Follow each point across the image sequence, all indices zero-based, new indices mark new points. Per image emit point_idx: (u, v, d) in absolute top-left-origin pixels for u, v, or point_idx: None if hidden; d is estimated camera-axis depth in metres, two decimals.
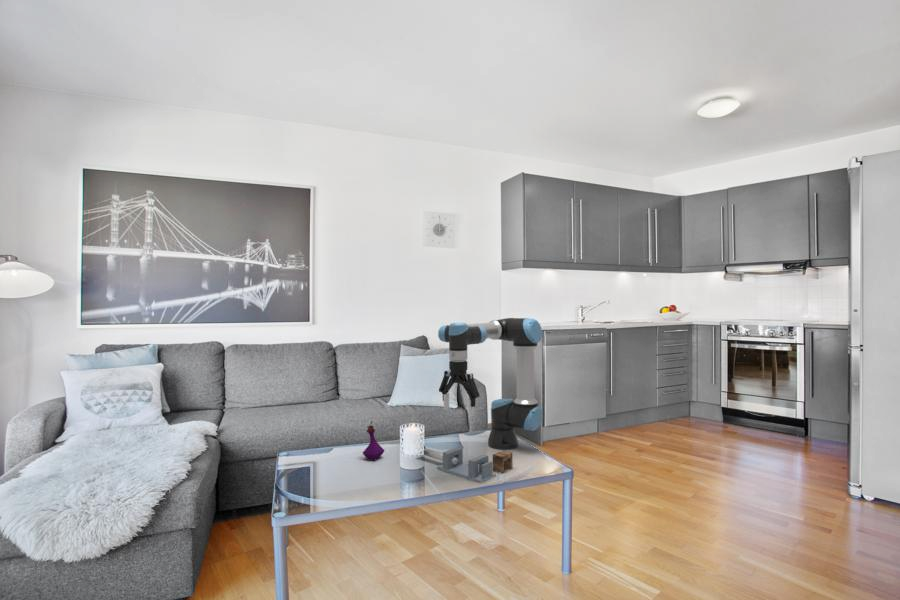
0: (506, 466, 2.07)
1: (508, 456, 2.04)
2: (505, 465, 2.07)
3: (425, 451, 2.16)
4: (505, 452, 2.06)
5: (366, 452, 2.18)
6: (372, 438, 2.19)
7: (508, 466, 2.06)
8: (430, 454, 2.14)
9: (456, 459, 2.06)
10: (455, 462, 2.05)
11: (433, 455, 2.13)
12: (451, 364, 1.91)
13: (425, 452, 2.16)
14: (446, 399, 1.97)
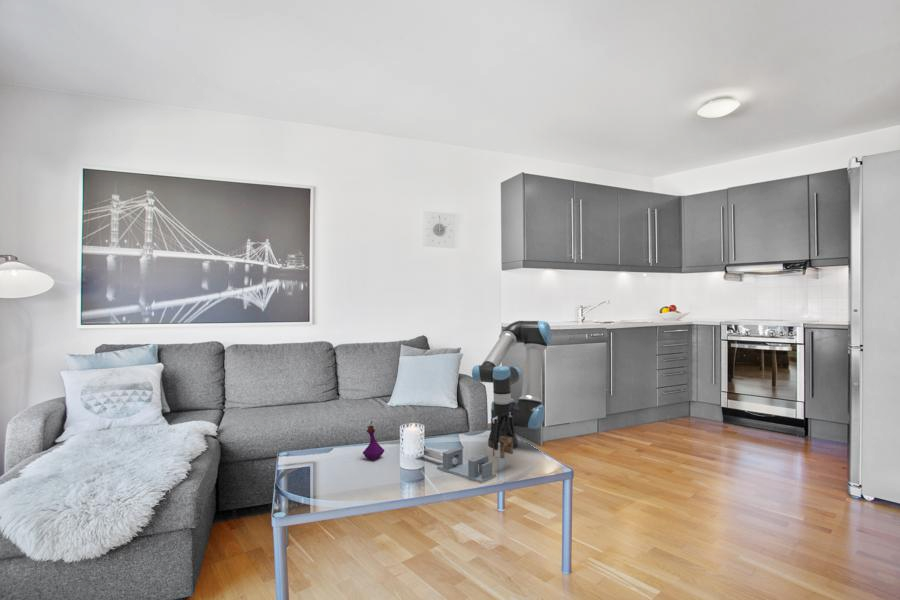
0: (507, 451, 2.07)
1: (508, 441, 2.04)
2: (506, 450, 2.08)
3: (425, 451, 2.16)
4: (505, 437, 2.06)
5: (366, 452, 2.18)
6: (372, 438, 2.19)
7: (509, 451, 2.06)
8: (430, 454, 2.14)
9: (456, 459, 2.06)
10: (455, 462, 2.05)
11: (433, 455, 2.13)
12: None
13: (425, 452, 2.16)
14: None
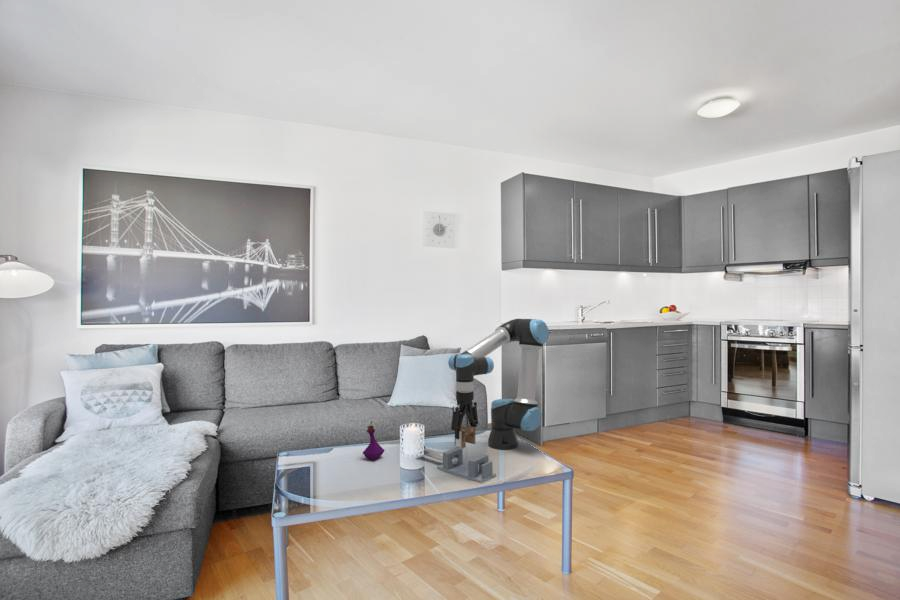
0: (469, 441, 2.04)
1: (470, 431, 2.01)
2: (468, 440, 2.04)
3: (425, 451, 2.16)
4: (468, 427, 2.03)
5: (366, 452, 2.18)
6: (372, 438, 2.19)
7: (471, 441, 2.03)
8: (430, 454, 2.14)
9: (456, 459, 2.06)
10: (455, 462, 2.05)
11: (433, 455, 2.13)
12: None
13: (425, 452, 2.16)
14: None
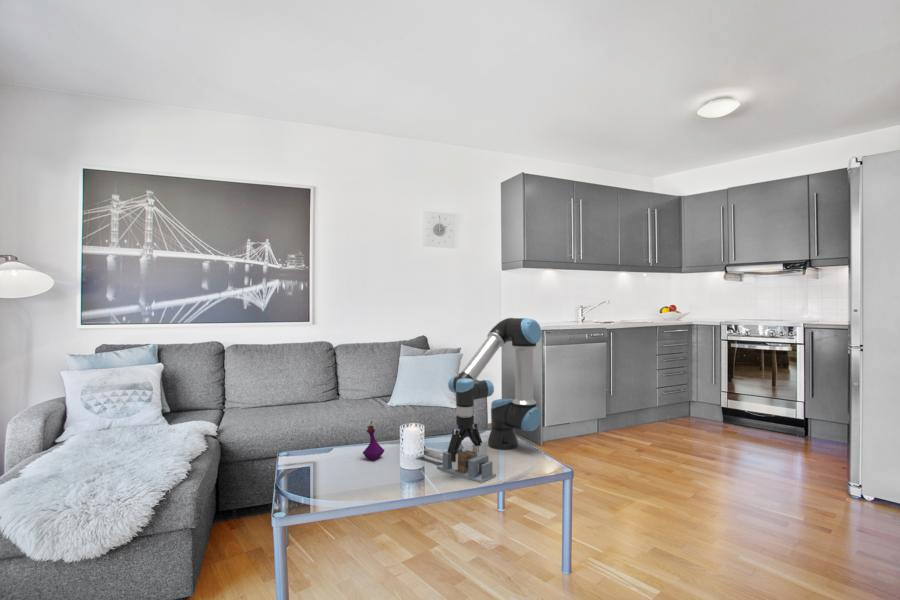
0: None
1: (471, 456, 2.01)
2: None
3: (425, 451, 2.16)
4: (468, 452, 2.03)
5: (366, 452, 2.18)
6: (372, 438, 2.19)
7: None
8: (430, 454, 2.14)
9: None
10: None
11: (433, 455, 2.13)
12: None
13: (425, 452, 2.16)
14: (474, 450, 2.07)
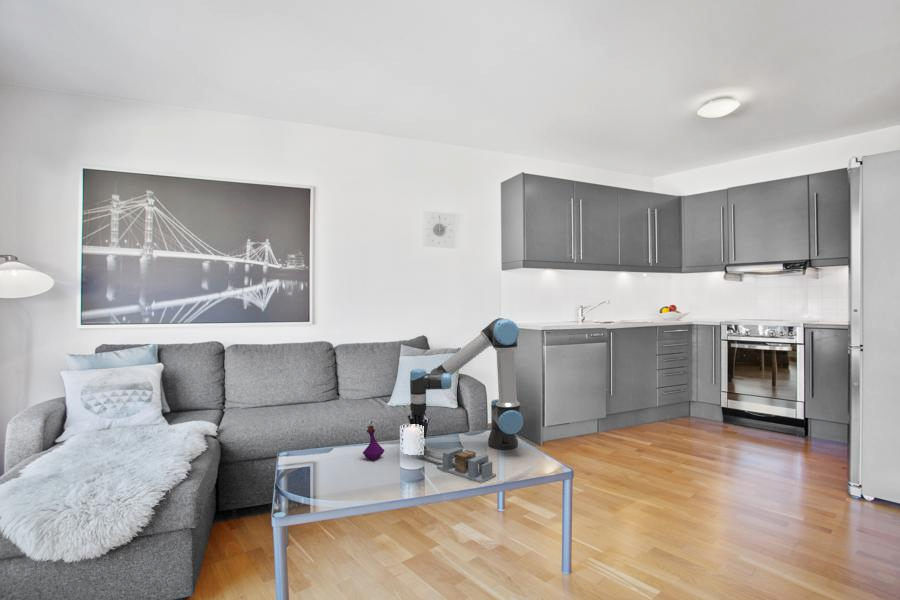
0: None
1: (471, 456, 2.01)
2: None
3: (426, 451, 2.16)
4: (468, 452, 2.03)
5: (366, 452, 2.18)
6: (372, 438, 2.19)
7: None
8: (431, 454, 2.13)
9: None
10: None
11: (434, 455, 2.12)
12: (411, 406, 2.19)
13: (426, 452, 2.16)
14: None
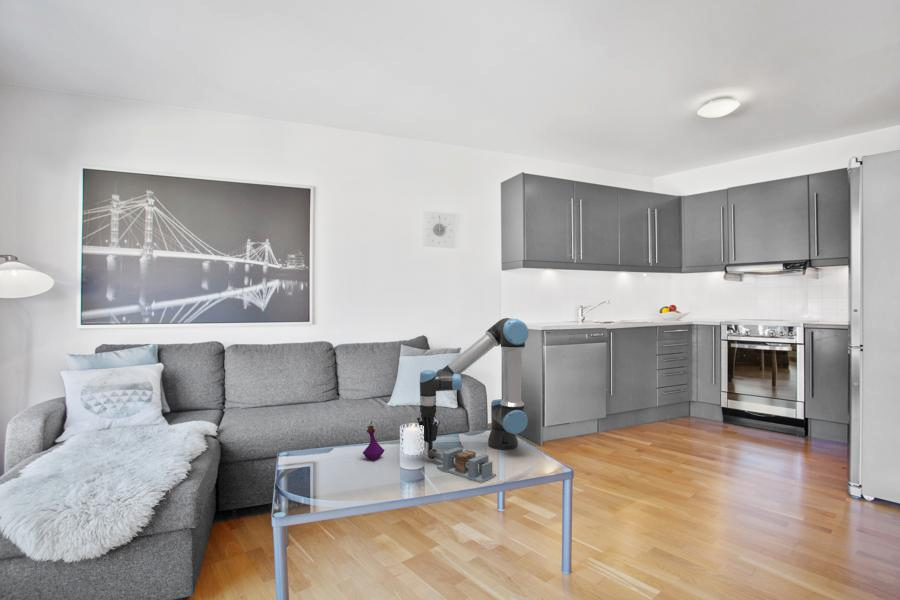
0: None
1: (471, 456, 2.01)
2: None
3: (436, 454, 2.12)
4: (468, 452, 2.03)
5: (366, 452, 2.18)
6: (372, 438, 2.19)
7: None
8: (442, 458, 2.09)
9: None
10: None
11: None
12: (421, 408, 2.14)
13: (436, 456, 2.11)
14: None
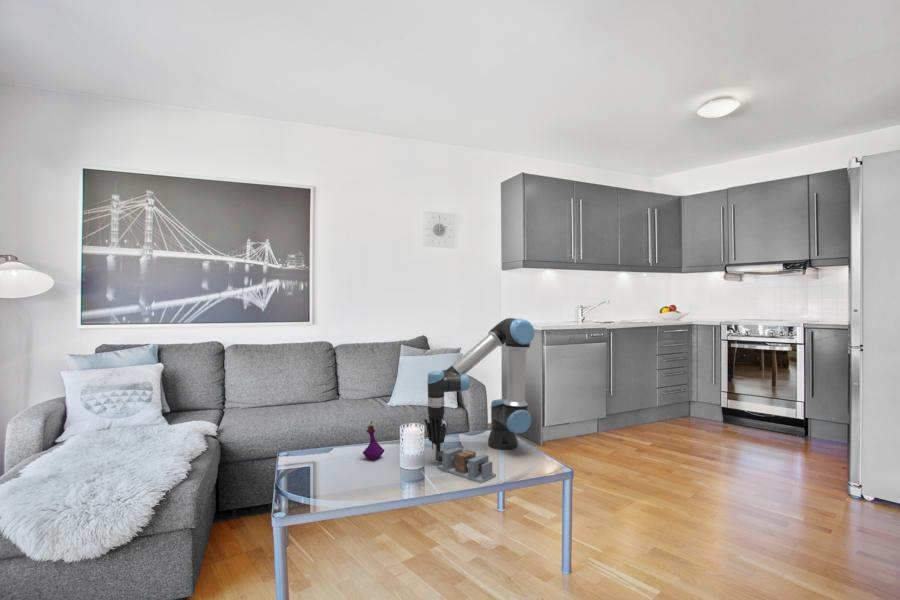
0: None
1: (471, 456, 2.01)
2: None
3: None
4: (468, 452, 2.03)
5: (366, 452, 2.18)
6: (372, 438, 2.19)
7: None
8: None
9: (478, 466, 1.97)
10: None
11: (453, 461, 2.04)
12: (429, 409, 2.11)
13: None
14: None
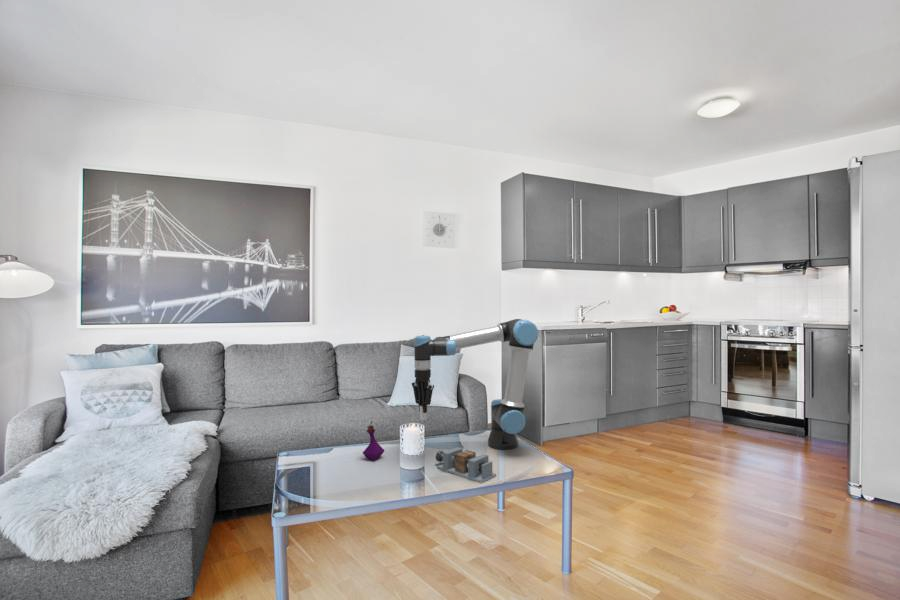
0: None
1: (471, 456, 2.01)
2: None
3: None
4: (468, 452, 2.03)
5: (366, 452, 2.18)
6: (372, 438, 2.19)
7: None
8: None
9: (478, 466, 1.97)
10: None
11: (453, 461, 2.04)
12: (416, 372, 2.17)
13: None
14: None
